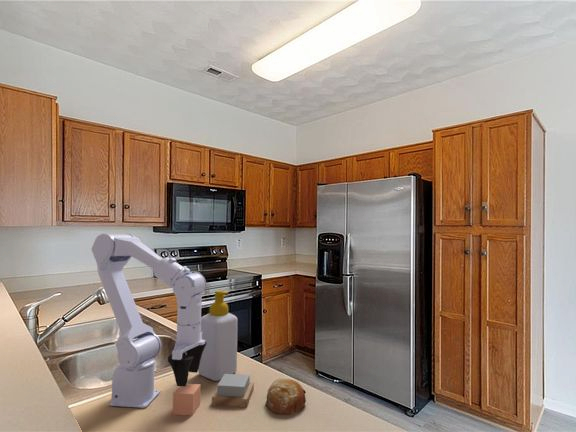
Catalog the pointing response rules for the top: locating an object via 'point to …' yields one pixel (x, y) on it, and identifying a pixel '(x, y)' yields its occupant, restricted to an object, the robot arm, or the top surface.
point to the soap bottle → (219, 340)
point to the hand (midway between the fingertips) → (187, 378)
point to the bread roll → (285, 396)
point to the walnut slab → (233, 398)
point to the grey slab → (233, 385)
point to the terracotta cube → (186, 399)
